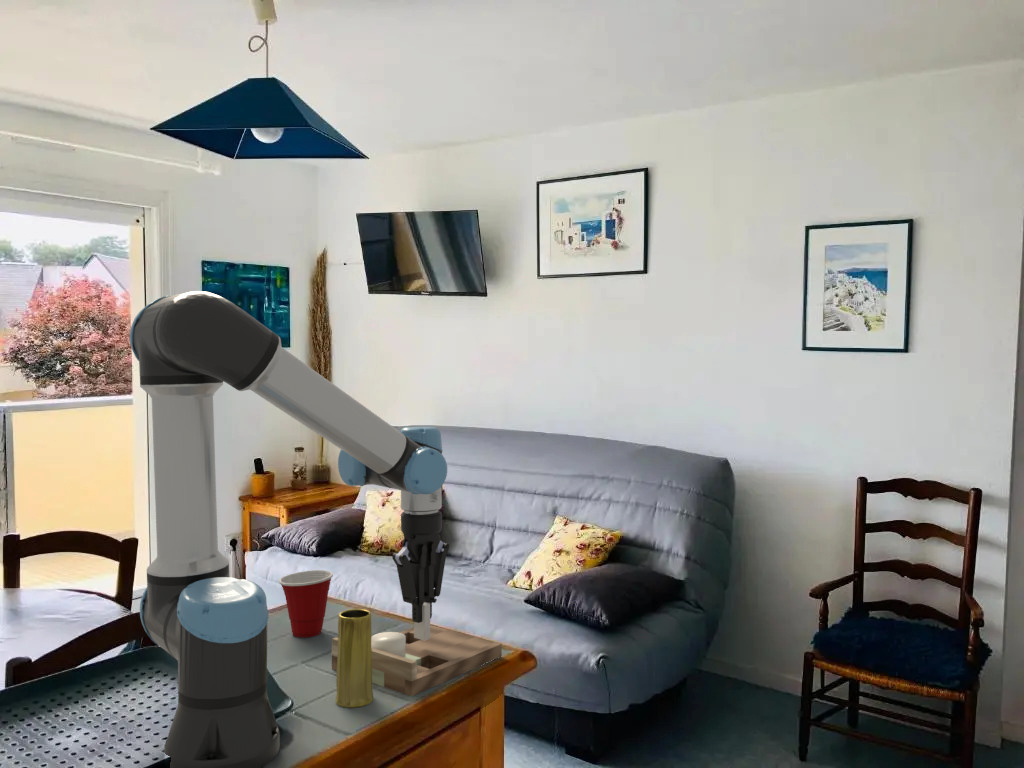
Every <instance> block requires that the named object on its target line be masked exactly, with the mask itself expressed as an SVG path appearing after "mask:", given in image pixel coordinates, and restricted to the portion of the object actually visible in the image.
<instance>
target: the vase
mask: <svg viewBox="0 0 1024 768" xmlns="http://www.w3.org/2000/svg"><path fill="white" fill-rule="evenodd" d="M337 619H338V621H337V625H338V626H337V628H338V629H337V630H338V631H337V633H338V635H337V637H338V656H337V671H336V680H335V681H336V686H335V688H336V696H335V699H334V701H335V703H336V705H337V706H339V707H342V708H347V709H356V708H362V707H365V706H368V705H370V704H371V703H372V702H373V701H374V698H375V697H374V691H373V683H372V649H371V638H372V612H371V610H368V609H365V608H351V609H346V610H343V611H341V612H339V613H338V618H337Z"/></svg>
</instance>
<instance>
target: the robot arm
mask: <svg viewBox="0 0 1024 768" xmlns="http://www.w3.org/2000/svg"><path fill="white" fill-rule="evenodd" d="M129 343H130V348H131V351H132V353H133V355H134V357H135V359H136V360H137V361H138V365H139V367H138V368H139V369H138V370H139V387H140V388H141V389H142V390H143V391H144V392H145V393H147V394H148V396H149V397H150V398H151V411H152V412H151V413H152V415H151V416H152V444H153V445H152V446H153V469H154V473H153V474H154V496H155V497H154V499H155V503H154V504H155V525H156V526H155V527H156V528H155V529H156V530H155V531H156V533H155V534H156V554H157V555H156V558H155V559H154V560H153V561H152V562H151V563H150V564H149V565H148V567H147V568H146V588H145V589H144V592H143V594H142V595H141V598H140V603H139V617H140V621H141V625H142V627H143V629H144V631H145V633H146V634H147V636H148V637H149V638H150V640H151V641H152V642H153V643H154V644H155V645H158V646H159V647H160V648H161V649H163V651H165V652H167V653H168V654H169V655H170V656H171V657H172V658H174V659H175V660H176V661H177V672H178V674H177V675H178V676H177V682H178V683H177V686H178V687H177V689H178V690H177V691H178V692H177V693H178V694H177V696H178V698H177V699H178V700H177V701H178V702H177V707H176V711H175V713H174V716H173V720H172V723H171V726H170V729H169V732H168V736H167V739H166V740H165V743H164V749H163V753H164V752H165V754H166V755H168V756H170V757H171V762H170V768H262V767H265V765H267V764H268V763H270V762H271V761H273V760H274V759H275V758H276V756H277V755H278V754H279V751H280V730H279V725H278V723H277V720H276V717H275V714H274V711H273V708H272V706H271V703H270V700H269V697H268V692H267V691H268V689H267V688H268V683H267V682H268V680H267V679H268V621H269V609H268V605H267V604H268V603H267V601H268V600H267V594H266V592H265V590H264V589H263V588H262V586H260V585H259V584H257V583H256V582H254V581H251V580H248V579H245V578H241V579H239V578H237V577H231V576H230V561H229V560H230V559H228V558H227V557H226V556H225V555H223V554H222V553H221V552H220V551H219V543H218V542H219V541H218V539H219V537H218V512H217V510H218V509H217V506H218V505H217V481H216V450H215V449H216V448H215V422H214V421H215V419H214V395H215V393H216V392H217V391H218V390H219V389H220V388H221V387H222V386H223V385H224V383H226V384H228V385H229V386H231V387H232V388H234V389H236V390H237V391H238V392H244V391H250V390H251V391H252V393H253V392H254V394H257V395H258V396H259V397H261V398H262V399H263V400H264V401H267V402H268V403H270V404H271V405H273V406H274V407H276V408H278V409H279V410H281V411H283V412H284V413H285V414H286V415H288V416H290V417H291V418H293V419H294V420H296V421H297V422H299V423H300V424H302V425H303V426H304V427H306V428H308V429H310V430H311V431H313V432H314V433H316V434H317V435H318V436H321V437H322V438H323V439H324V440H326V441H328V442H330V443H331V444H333V445H334V446H336V447H337V448H339V449H340V451H339V454H338V458H337V469H338V474H339V476H340V478H341V481H342V482H343V483H344V484H345V485H347V486H351V487H354V486H355V487H357V486H359V487H364V486H367V485H369V486H370V485H371V486H372V485H374V486H379V487H384V488H389V489H395V490H399V491H400V509H401V510H402V512H401V514H400V528H401V529H400V531H401V532H402V534H403V537H404V538H403V541H402V543H401V544H402V548H401V549H400V551H398V552H393V554H392V556H391V557H392V560H393V561H394V563H395V565H396V570H397V575H398V580H399V586H400V591H401V596H402V601H403V602H404V603H408V604H410V605H411V615H412V616H411V620H412V622H413V627H414V638H417V639H421V640H424V641H425V640H428V639H430V625H431V619H432V617H433V616H432V615H433V604H435V603H436V602H437V598H436V597H440V595H441V593H442V592H441V591H442V585H443V579H444V578H443V577H444V572H445V571H444V570H445V563H446V558H447V554H448V553H449V549H450V544H449V543H446V542H444V541H442V540H441V536H440V532H442V531H443V513H442V511H441V509H442V507H443V505H442V504H443V503H442V502H443V500H442V492H443V491H442V487H443V485H444V483H445V480H446V479H447V476H448V463H447V460H446V458H445V456H444V455H443V444H442V442H443V441H442V435H441V434H442V433H441V430H440V429H438V428H437V427H435V426H407V427H406V426H405V427H403V428H401V430H400V431H399V430H398V429H397V428H395V427H394V426H392V425H391V424H389V423H388V422H387V421H385V420H384V419H383V418H381V416H379V415H377V414H376V413H374V412H373V411H371V409H369V408H367V407H366V406H365V405H363V404H361V403H360V402H359V401H357V400H356V399H355V398H353V397H352V396H350V395H349V394H347V393H346V392H345V391H344V390H342V389H341V388H340V387H338V386H336V385H335V384H334V383H333V382H331V381H330V380H328V379H327V378H325V377H324V376H323V375H321V374H320V373H318V372H317V371H316V370H314V369H313V368H312V367H310V366H309V365H307V364H306V363H305V362H303V361H302V360H301V359H299V358H298V357H296V356H295V355H294V354H292V352H289V351H288V350H286V349H285V348H284V347H282V339H281V337H280V336H279V335H278V334H277V333H275V332H274V331H272V330H271V329H269V328H268V327H267V326H265V325H264V324H263V323H261V322H260V321H259V320H257V319H256V318H255V317H253V316H252V315H250V314H249V313H248V312H247V311H245V310H244V309H242V308H241V307H239V306H238V305H236V304H235V303H233V302H232V301H230V300H229V299H226V298H225V297H222V296H221V295H218V294H215V293H212V292H209V291H202V290H194V291H193V290H192V291H187V292H183V293H180V294H179V293H178V294H172V295H165V296H162V297H159V298H156V299H154V300H153V301H151V302H150V303H148V304H147V305H145V306H144V307H143V308H142V309H141V310H140V311H139V312H138V313H137V315H136V316H135V318H134V320H133V321H132V323H131V326H130V331H129Z"/></svg>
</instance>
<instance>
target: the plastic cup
mask: <svg viewBox="0 0 1024 768" xmlns="http://www.w3.org/2000/svg"><path fill="white" fill-rule="evenodd" d="M333 575H334V574H333V572H332V571H330V570H324V569H323V570H322V569H317V570H316V569H314V570H305V571H298V572H294V573H290V574H287V575H284V576H282V577H281V578H279V579H278V583H279V584H280V585H281V587H282V590H283V592H284V596H285V600H286V606H287V613H288V617H289V621H290V626H291V633H292V635H293V636H294V637H297V638H312V637H316V636H318V635H321V633H322V630H323V626H324V619H325V617H326V609H327V604H328V603H327V602H328V597H329V596H328V595H329V591H330V585H331V581H332V578H333Z"/></svg>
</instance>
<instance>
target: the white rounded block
mask: <svg viewBox="0 0 1024 768" xmlns="http://www.w3.org/2000/svg"><path fill="white" fill-rule="evenodd" d="M398 632H399V631H397V632H396V631H383V632H379V633H376V634H373V635H371V648H375V649H378V650H381V651H385V652H388V653H391V654H394V655H398V656H401V657H404V658H406V636H405V635H404V634H402V633H398Z"/></svg>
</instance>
